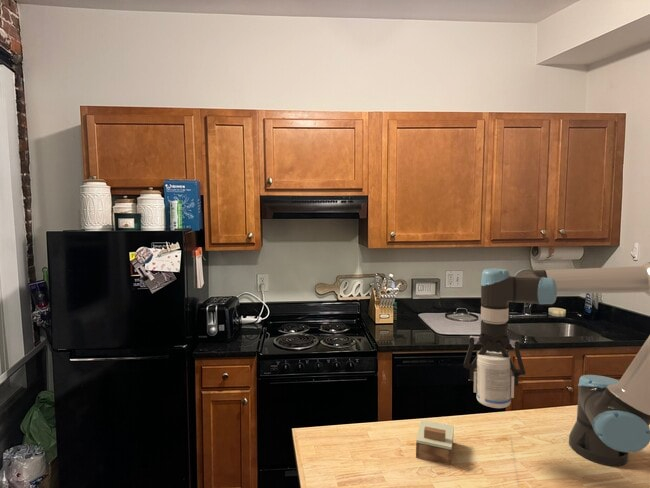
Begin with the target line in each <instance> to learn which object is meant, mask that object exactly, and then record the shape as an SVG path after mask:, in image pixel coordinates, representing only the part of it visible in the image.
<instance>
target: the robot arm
mask: <svg viewBox="0 0 650 488" xmlns="http://www.w3.org/2000/svg"><path fill="white" fill-rule="evenodd" d="M618 293H619V294H622V293H623V294H625V293H636V294H637V293H645V294H646V295H648V296H650V261H649V262H644V264H642V265H641V266H639V265H638V266H618V267H616V266H615V267H613V266H612V267H588V268H566V269H565V268H563V269H544V270H542V269H540V270H538V269H537V270H533V269H527V268H526V269H525V268H524V269H520V270H519V271H517V272H515V275H514V276H512V275H510V271H509V270H508V269H506V268H505V269H504V268H498V267H494V268H492V267H491V268H490V267H489V268H485V269H483V271H482V273H481V281H480V303H481V304H480V319H481V320H480V335H479V336H474V335H470V336H469V346H468V349H467V352H466V355H465V358H464V361H463V369H464V368H465V369H468V370H469V380H470V382H471V381H472V382H473V393H476V375H477V371H476V366H477V355H476V356H475V358H474V359H473V361H472V362H471V363H470V361H471V358H472V355H473V351H474V349H475V348H474V347H475V345H476V344H477V343H478V342H480V344H481V345H482V346H481V348H480V350H479V355H484V354H485V353H486V352H487V351H488V352H497V353H500V352H501V353H502V355H503V356H504V357H509V356H510V354H509V353H508V351H507V349H506V348H507V347H508V346H509V345H511V348H513V349H514V352H515V357H516V359H517V360H516V361H517V364H518V367H519V368H518V369H517V366H516V365H515V364H514V361H513V359H512V358H511V357H510V368H511V399H514V398H515V387H517V388H518V386H519V377H520V376H525V375H526V370H525V366H524V364H523V360H522V359H523V358H522V355H521V352H520V351H521V350H520V346H521V345H520V344H521V343H520V340H519V339H510V338H509V323H508V321H509V303H518V304H519V303H520V304H521V303H523V304H533V305H535V304H537V305H553V304H555V302H556V300H557V295H564V294H565V295H566V294H567V295H568V294H569V295H571V294H572V295H573V294H618ZM577 386H578V392H577V410H576V421H575V423H574V425H573V427H572V428H571V431H570V433H569V435H568V445H569V447H570V448H571V450H573V451H574V452H575V453H576V454H578V455H579V456H581V457H583V458H585V459H587V460H588V461H591V462H594V463H598V464H602V465H605V466H612V467H613V466H614V467H616V466H618V467H619V466H623V465H624V466H625V465H626V464H627V463H628V461H629V453H636V452H639V451H642V450H643V449H645V448H646V447H648V445H649V444H650V335H649V336H648V337H647V338H646V340H645V341H644V343H643V345H642V346H641V347H640V349H639V351H638V352H637V353H636V355H635V356H634V358H633V360H632V361H631V363H630V364H629V366H628V367H627V368H626V370H625V372H624V373H623V375H622V376H621V378H620V379H619V380H618V379H616V378H612V377H610V376H609V377H608V376H605V375H604V376H603V375H596V374H583V375H581V376H580V377H579V381H578V384H577ZM476 394H477V393H476Z"/></svg>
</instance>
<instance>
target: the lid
mask: <svg viewBox="0 0 650 488" xmlns="http://www.w3.org/2000/svg"><path fill="white" fill-rule="evenodd" d="M453 430H454V425H450V424H445V423H439V422H435V421H434V422H433V421H429V420H424V419H421V421H420V424H419V429H418V432H417V436H416V439H415V441H416V443H421V444H426V445H430V446H435V447H440V448H445V449H450V450H452V441H453V442H454V433H453ZM416 443H415V444H416ZM452 451H453V450H452Z"/></svg>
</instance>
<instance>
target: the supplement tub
mask: <svg viewBox="0 0 650 488" xmlns="http://www.w3.org/2000/svg"><path fill="white" fill-rule="evenodd" d="M479 351H480V350H479ZM479 351H477V352H476V356H477V366H476V368H475V369H476V371H477V375H476V400H477V401H478V403H479V404H481V405H483V406H486V407H489V408H492V409H504V408H507V407H509V406H510V405H511V402H512V401H511V399H512V398H511V373H512V370H511V368H510V358H511V356H510V355H509V357H504V356H503V355H502V353H501V352H500V353H497V352H488V351H487V352H486V353H485V354H484V355H479Z"/></svg>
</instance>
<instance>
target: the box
mask: <svg viewBox="0 0 650 488" xmlns="http://www.w3.org/2000/svg"><path fill="white" fill-rule="evenodd" d="M453 434H454V430H453ZM453 448H454V440H453V441H452V450H450V449H445V448H440V447H435V446H430V445H426V444H421V443H415V459H420V460H424V461H429V462H432V463H438V464H441V465H447V466H452V462H453V461H452V460H453V459H452V458H453V450H454V449H453Z"/></svg>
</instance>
